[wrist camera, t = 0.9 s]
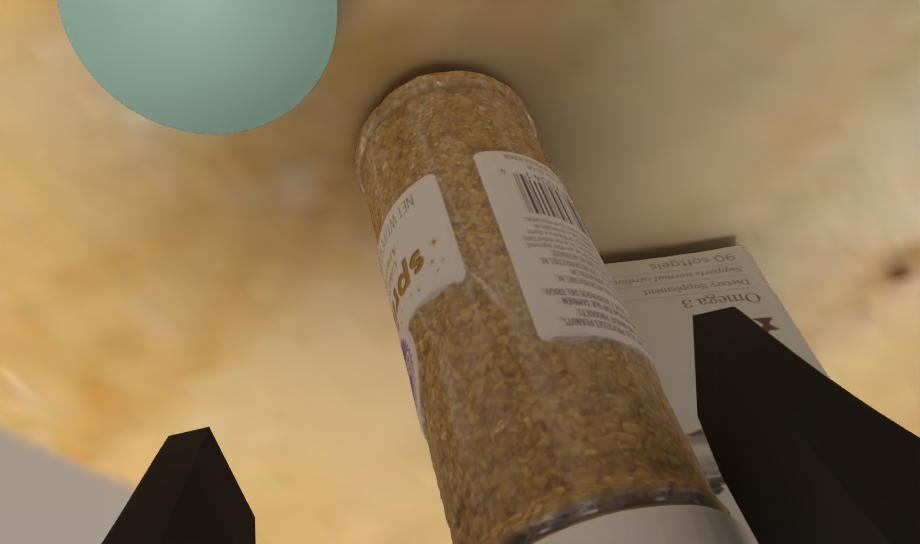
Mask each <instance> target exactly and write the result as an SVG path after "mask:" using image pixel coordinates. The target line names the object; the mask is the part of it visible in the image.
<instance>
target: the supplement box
mask: <svg viewBox="0 0 920 544" xmlns="http://www.w3.org/2000/svg"><path fill="white" fill-rule="evenodd" d="M604 265H605V267H606V269H607V271H608V273H609V275H610V277H611V279H612V281H613V283H614V285H615V287H616V289H617V291H618V293H619V295H620V297H621V299H622V301H623V303H624V305H625V307H626V308H627V310H628V312H629V314H630V316H631V318H632V320H633V322H634V324H635V326H636V328H637V330H638V332H639V334H640V336H641V338H642V340H643V342H644V344H645V346H646V348H647V350H648V351H649V353H650V355H651V358H652V360H653V362H654V364H655V366H656V369H657V371H658V374H659V378H660V384H661V386H662V388H663V391H664V394H665V396H666V398H667V399H668V402H669V404H670V406H671V407H672V409H673V411H674V413H675V415H676V417H677V420H678V422H679V424H680V426H681V428H682V430H683V432H684V434H685V436H686V438H687V440H688V442H689V444H690V445H691V447H692V449H693V451H694V453H695V455H696V457H697V459H698V461H699V463H700V465H701V467H702V469H703V471H704V473H705V475H706V477H707V479H708V482H709V484H710V487H711V489H712V491H713V492H714V494H715V495H716V496H717V497H718V499H719V500H720V501H721V502H722V503H723V504H724V505H725V506H726V507H727V508H728V510H729V511H730V514H731V516H732V517H734V518H735V519H736V520H738V521H739V522H740V523H741V524H742V525H743V526H744V527H745V528H746V530H747V531H748V533H749V535H750V537H751V539H752V541H753V543H754V544H758V542H757V540H756V538H755V536H754V535H753V533H752V531H751V529H750V527H749V526H748V524H747V522H746V520H745V518H744V517H743V515H742V513H741V511H740V509H739V507H738V506H737V504H736V502H735V500H734V498H733V496H732V495H731V493H730V491H729V489H728V487H727V485H726V484H725V482H724V480H723V478H722V476H721V474H720V471H719V469H718V466H717V464H716V461H715V459H714V457H713V454H712V452H711V449H710V447H709V444H708V442H707V439H706V437H705V434H704V432H703V429H702V426H701V424H700V421H699V419H698V416H697V398H696V377H695V357H694V336H693V315H697V314H702V313H706V312H710V311H715V310H719V309H723V308H728V307H732V306H734V307H736V308H737V309H739V310H740V311H742V312H743V313H744V314H746V315H747V316H748V317H749V318H751V319H752V320H753V321H754V322H756V323H757V324H758V325H760V326H761V327H762V328H763V329H765V330H766V331H767V332H768V333H770V334H771V335H772V336H774V337H775V338H776V339H777V340H779V341H780V342H781V343H783V344H784V345H785V346H786V347H788V348H789V349H790V350H792V351H793V352H794V353H796V354H797V355H798V356H800V357H801V358H802V359H804V360H805V361H806V362H808V363H809V364H810V365H812V366H813V367H814V368H816V369H817V370H818V371H820V372H821V373H823V374H824V375H825V376H827V377H828V378H829V376H828V375H827V373H826V372H825V370H824V369H823V367H822V366H821V364H820V362H819V361H818V359H817V358H816V356H815V355H814V353H813V352H812V350H811V349H810V347H809V346H808V344H807V342H806V341H805V339H804V338H803V336H802V334H801V333H800V331H799V330H798V328H797V327H796V325H795V324H794V322H793V320H792V319H791V317H790V316H789V314H788V313H787V311H786V310H785V308H784V307H783V305H782V304H781V302H780V300H779V299H778V297H777V295H776V294H775V293H774V291H773V290H772V288H771V287H770V285H769V284H768V282H767V281H766V279H765V278H764V276H763V274H762V273H761V271H760V270H759V268H758V267H757V265H756V263H755V262H754V260H753V258H752V257H751V255H750V254H749V252H748V251H747V249H746V248H745V247H744V246H739V245H737V246H731V247H726V248H720V249H714V250H709V251H703V252H696V253H689V254H682V255H675V256H668V257H661V258H653V259H645V260H636V261H627V262H618V263H608V264H604Z"/></svg>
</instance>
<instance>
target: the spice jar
mask: <svg viewBox="0 0 920 544" xmlns="http://www.w3.org/2000/svg"><path fill="white" fill-rule="evenodd" d="M355 151H356V157H355V175H356V177H357V179H358V181H359V184H360V189H361V191H362V193H363V195H364V197H365V198H366V199H367V201H368V204H369V208H370V212H371V216H372V222H373V226H374V230H375V233H376V237H377V241H378V245H379V259H380V264H381V269H382V273H383V277H384V281H385V285H386V289H387V292H388V296H389V300H390V304H391V308H392V312H393V316H394V319H395V323H396V327H397V330H398V334H399V339H400V343H401V347H402V351H403V355H404V359H405V363H406V367H407V371H408V375H409V379H410V383H411V388H412V392H413V396H414V401H415V405H416V409H417V413H418V418H419V422H420V426H421V430H422V432H423V435H424V437H425V439H426V440H427V442H428V445H429V450H430V454H431V459H432V463H433V468H434V471H435V473H436V478H437V484H438V487H439V490H440V496H441V499H442V502H443V505H444V511H445V516H446V520H447V523H448V526H449V528H450V531H451V539H452V542H453V544H754V543H753V541H752V539H751V537H750V535H749V533H748V531H747V530H746V528H745V527H744V526H743V525H742V524H741V523H740V522H739V521H738V520H736V519H735V518H734V517H732V516H731V514H730V511H729V510H728V508H727V507H726V506H725V505H724V504H723V503H722V502H721V501H720V500H719V499H718V497H717V496H716V495H715V494H714V492H713V491H712V489H711V487H710V484H709V482H708V479H707V477H706V475H705V473H704V471H703V469H702V467H701V465H700V463H699V461H698V459H697V457H696V455H695V453H694V451H693V449H692V447H691V445H690V444H689V442H688V440H687V438H686V436H685V434H684V432H683V430H682V428H681V426H680V424H679V422H678V420H677V417H676V415H675V413H674V411H673V409H672V407H671V406H670V404H669V402H668V399H667V398H666V396H665V394H664V391H663V388H662V386H661V384H660V378H659V374H658V371H657V369H656V366H655V364H654V362H653V360H652V358H651V355H650V353H649V351H648V350H647V348H646V346H645V344H644V342H643V340H642V338H641V336H640V334H639V332H638V330H637V328H636V326H635V324H634V322H633V320H632V318H631V316H630V314H629V312H628V310H627V308H626V307H625V305H624V303H623V301H622V299H621V297H620V295H619V293H618V291H617V289H616V287H615V285H614V283H613V281H612V279H611V277H610V275H609V273H608V271H607V269H606V267H605V265H604V263H603V261H602V259H601V257H600V255H599V253H598V251H597V249H596V247H595V245H594V243H593V241H592V239H591V237H590V235H589V233H588V231H587V229H586V227H585V225H584V223H583V221H582V219H581V217H580V215H579V213H578V211H577V209H576V207H575V205H574V203H573V202H572V200H571V198H570V196H569V194H568V192H567V190H566V188H565V186H564V185H563V183H562V182H561V180H560V179H559V178H558V177H557V176H556V175H555V173H554V172H553V171H552V170H551V168H550V166H549V164H548V162H547V160H546V158H545V156H544V153H543V150H542V148H541V146H540V144H539V142H538V140H537V132H536V128H535V124H534V121H533V118H532V116H531V114H530V113H529V110H528V108H527V106H526V105H525V103H524V102H523V101H522V100H521V99H520V98H519V96H518V95H517V94H516V93H515V91H514V90H512V89H511V88H510V87H508V86H507V85H506V84H504V83H501V82H499V81H498V80H496V79H494V78H492V77H491V76H488V75H485V74H482V73H475V72H470V71H449V72H437V73H432V74H427V75H422V76H417V77H416V78H414V79H413V80H411V81H409V82H408V83H406V84H404V85H402V86H399V87H398V88H396V89H395V90H394V91H393V92H391V93H390V94H389V95H387V97H386V98H385V99H384V100H383V102H382V103H381V104H380V105H379V106H378V107H377V108H375V109H374V110H373V112H372V113H371V114H370V115H369V117H368V119H367V121H366V123H365V124H364V125H363V126H362V129H361V131H360V134H359V137H358V141H357V146H356V150H355Z"/></svg>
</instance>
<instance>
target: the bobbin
mask: <svg viewBox="0 0 920 544" xmlns="http://www.w3.org/2000/svg"><path fill="white" fill-rule="evenodd" d="M58 7H59V11H60V15H61V19H62V23H63V25H64V28H65V30H66V33H67V36H68V38H69V41H70V42H71V44H72V46H73V48H74V50H75V52H76V53H77V55H78V57H79V59H80V60H81V61H82V63H83V64H84V66H85V67H86V68H87V70H88V71H89V73H90V74H91V75H92V76H93V77H94V78H95V79H96V80H97V82H98V83H99V84H100V85H101V86H102V87H103V88H104V89H105V90H106V91H108V92H109V93H110V94H111V95H112V96H113V97H114V98H115V99H117V100H118V101H120V102H121V103H122V104H124V105H125V106H127V107H128V108H129V109H131V110H133V111H135V112H136V113H138V114H140V115H142V116H143V117H145V118H147V119H150V120H152V121H154V122H157V123H159V124H161V125H164V126H168V127H171V128H174V129H178V130H182V131H187V132H193V133H202V134H229V133H235V132H241V131H247V130H250V129H253V128H257V127H260V126H263V125H265V124H267V123H269V122H272V121H274V120H276V119H278V118H279V117H281V116H282V115H284V114H286V113H287V112H289V111H290V110H291V109H293V108H294V107H295V106H296V105H298V104H299V103H300V102H301V101H302V100H303V99H304V98H305V97H306V96H307V95H308V94H309V93H310V91H311V90H312V89H313V88H314V86H315V85H316V83H317V82H318V80H319V79H320V78H321V76H322V74H323V72H324V70H325V68H326V66H327V64H328V61H329V59H330V56H331V53H332V50H333V46H334V41H335V36H336V30H337V0H58Z"/></svg>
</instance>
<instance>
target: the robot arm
mask: <svg viewBox="0 0 920 544" xmlns="http://www.w3.org/2000/svg"><path fill="white" fill-rule="evenodd" d="M693 336H694V357H695V377H696V398H697V416H698V419H699V421H700V424H701V426H702V429H703V432H704V434H705V437H706V439H707V442H708V444H709V447H710V449H711V452H712V454H713V457H714V459H715V461H716V464H717V466H718V469H719V471H720V474H721V476H722V478H723V480H724V482H725V484H726V485H727V487H728V489H729V491H730V493H731V495H732V496H733V498H734V500H735V502H736V504H737V506H738V507H739V509H740V511H741V513H742V515H743V517H744V518H745V520H746V522H747V524H748V526H749V527H750V529H751V531H752V533H753V535H754V536H755V538H756V540H757V542H758V544H920V438H919V437H918V436H916V435H914V434H913V433H911V432H909V431H908V430H906V429H905V428H903V427H901V426H900V425H898V424H897V423H895V422H894V421H892V420H890V419H889V418H887V417H886V416H884V415H882V414H881V413H879V412H878V411H876V410H875V409H873V408H872V407H870V406H869V405H867V404H866V403H864V402H863V401H861V400H860V399H858V398H857V397H855V396H854V395H852V394H851V393H850V392H848V391H847V390H845V389H844V388H842V387H841V386H840V385H838V384H837V383H835V382H834V381H833V380H831V379H830V378H828V377H827V376H825V375H824V374H823V373H821V372H820V371H818V370H817V369H816V368H814V367H813V366H812V365H810V364H809V363H808V362H806V361H805V360H804V359H802V358H801V357H800V356H798V355H797V354H796V353H794V352H793V351H792V350H790V349H789V348H788V347H786V346H785V345H784V344H783V343H781V342H780V341H779V340H777V339H776V338H775V337H774V336H772V335H771V334H770V333H768V332H767V331H766V330H765V329H763V328H762V327H761V326H760V325H758V324H757V323H756V322H754V321H753V320H752V319H751V318H749V317H748V316H747V315H746V314H744V313H743V312H742V311H740V310H739V309H737V308H736V307H734V306H732V307H728V308H723V309H719V310H715V311H710V312H706V313H702V314H697V315H693ZM102 544H256V542H255V517H254V515H253V513H252V511H251V509H250V507H249V505H248V503H247V501H246V499H245V497H244V495H243V493H242V491H241V489H240V487H239V485H238V483H237V481H236V479H235V477H234V475H233V473H232V471H231V469H230V467H229V465H228V463H227V461H226V459H225V457H224V455H223V453H222V451H221V449H220V447H219V445H218V443H217V441H216V439H215V437H214V436H213V434H212V432H211V430H210V428H209V427H206V428H201V429H197V430H193V431H188V432H184V433H180V434H175V435H171V436H168V438H167V439H166V441H165V443H164V444H163V446H162V447H161V449H160V450H159V452H158V453H157V455H156V457H155V458H154V460H153V461H152V463H151V465H150V466H149V468H148V470H147V471H146V473H145V475H144V476H143V478H142V479H141V481H140V483H139V484H138V486H137V488H136V489H135V491H134V493H133V494H132V496H131V498H130V499H129V501H128V502H127V504H126V506H125V507H124V509H123V511H122V512H121V514H120V516H119V517H118V519H117V520H116V522H115V524H114V525H113V527H112V528H111V530H110V531H109V533H108V534H107V536H106V538H105V539H104V541H103V542H102Z"/></svg>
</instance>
